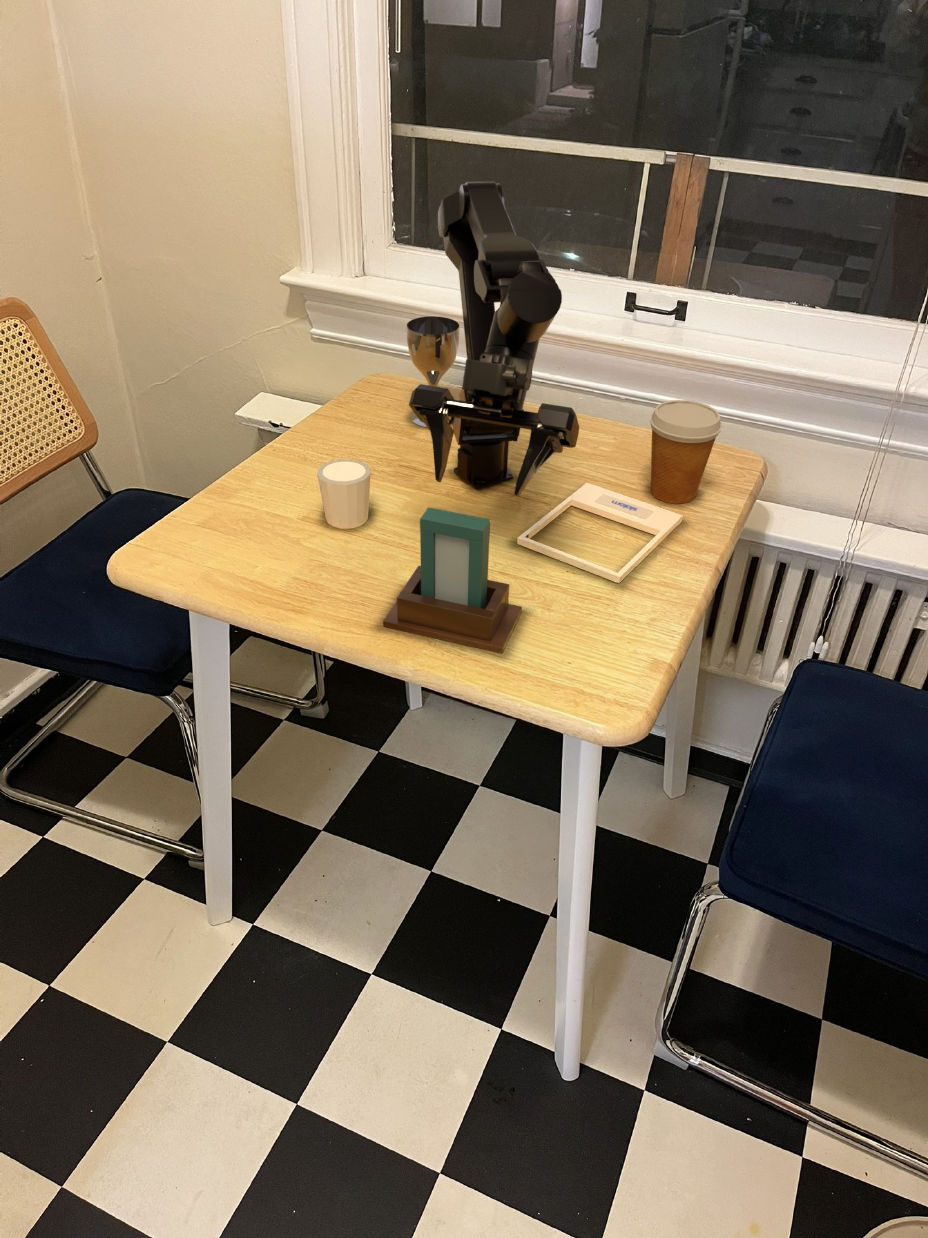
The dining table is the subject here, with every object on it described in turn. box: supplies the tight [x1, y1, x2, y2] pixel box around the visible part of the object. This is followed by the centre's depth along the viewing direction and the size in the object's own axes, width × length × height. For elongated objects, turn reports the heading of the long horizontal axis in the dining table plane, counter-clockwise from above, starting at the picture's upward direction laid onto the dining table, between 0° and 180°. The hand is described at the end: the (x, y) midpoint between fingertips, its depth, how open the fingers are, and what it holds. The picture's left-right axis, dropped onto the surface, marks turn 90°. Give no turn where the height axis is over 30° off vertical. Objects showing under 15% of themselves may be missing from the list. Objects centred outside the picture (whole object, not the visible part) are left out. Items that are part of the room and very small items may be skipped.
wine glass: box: [406, 315, 460, 428], centre depth 141 cm, size 8×8×15 cm
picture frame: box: [419, 507, 491, 609], centre depth 99 cm, size 2×7×12 cm, turn 71°
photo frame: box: [516, 482, 684, 584], centre depth 118 cm, size 15×1×18 cm
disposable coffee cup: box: [649, 399, 723, 504], centre depth 124 cm, size 10×10×12 cm
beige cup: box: [316, 458, 372, 530], centre depth 119 cm, size 7×7×7 cm
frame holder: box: [382, 565, 523, 654], centre depth 102 cm, size 8×14×4 cm, turn 72°
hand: (476, 488), depth 101 cm, fingers open, 9 cm apart
